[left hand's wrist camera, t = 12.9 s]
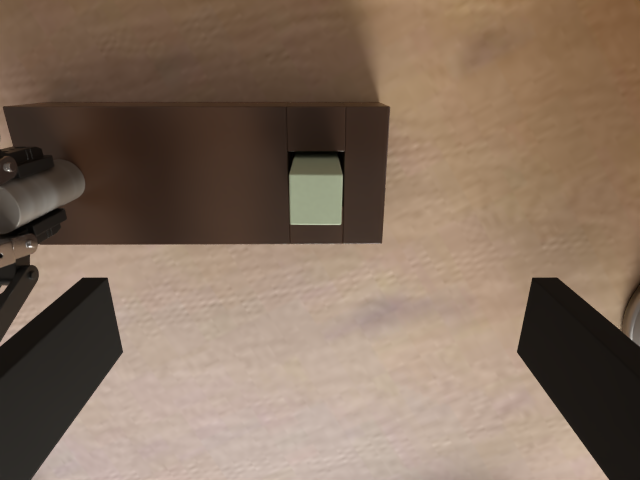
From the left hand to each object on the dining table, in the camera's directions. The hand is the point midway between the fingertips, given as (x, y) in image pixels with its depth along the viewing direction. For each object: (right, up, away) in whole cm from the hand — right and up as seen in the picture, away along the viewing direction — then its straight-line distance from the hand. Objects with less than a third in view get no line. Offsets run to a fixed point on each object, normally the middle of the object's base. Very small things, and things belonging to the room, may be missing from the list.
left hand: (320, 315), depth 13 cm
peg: (0, +8, +21) cm, 23 cm away
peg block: (-8, +9, +21) cm, 24 cm away
